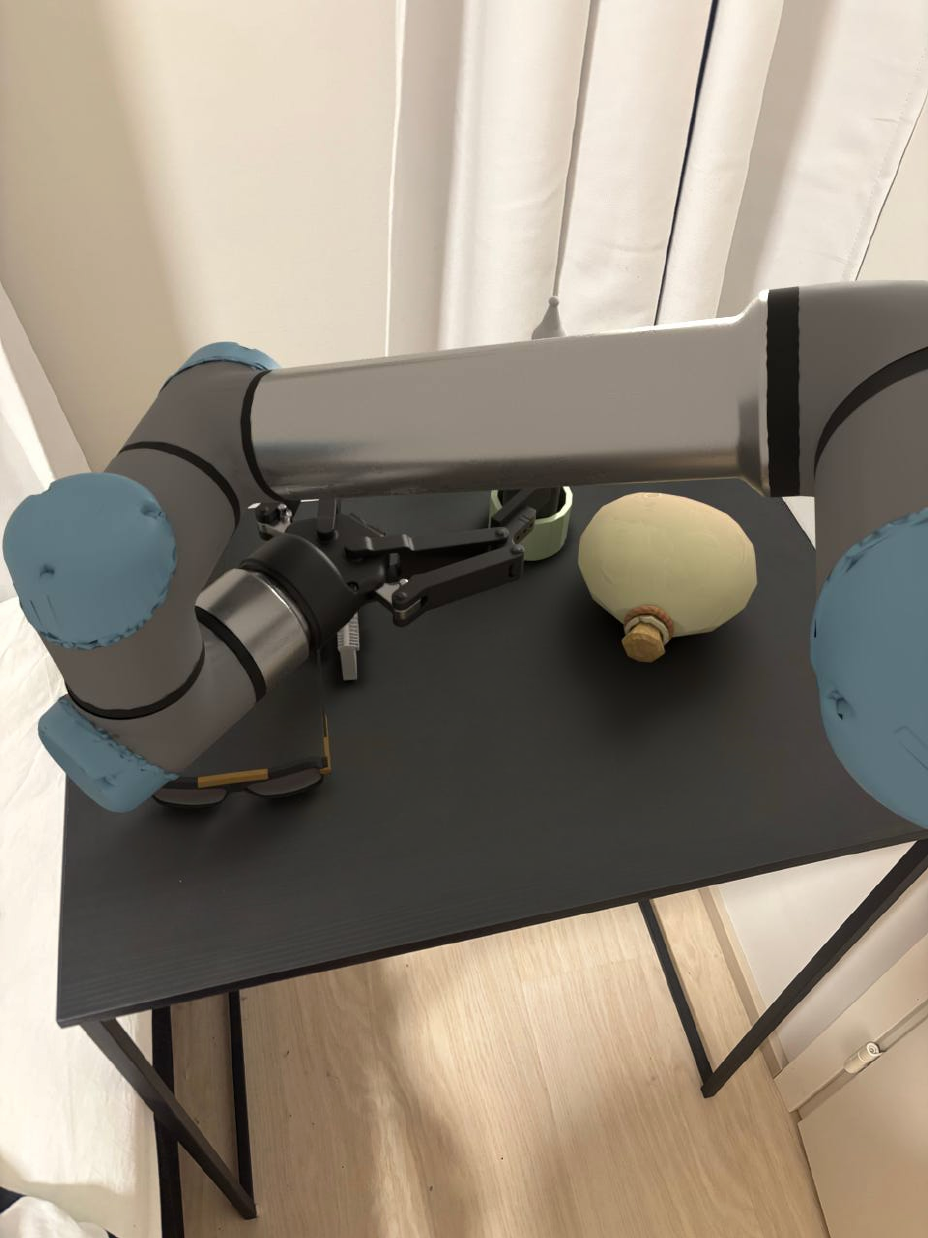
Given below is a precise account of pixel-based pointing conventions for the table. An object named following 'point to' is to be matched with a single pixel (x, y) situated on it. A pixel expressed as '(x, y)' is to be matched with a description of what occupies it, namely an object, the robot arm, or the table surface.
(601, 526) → the flask
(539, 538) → the candle holder
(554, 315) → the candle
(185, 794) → the sunglasses
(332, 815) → the table surface
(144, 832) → the table surface
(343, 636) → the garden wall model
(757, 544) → the table surface
